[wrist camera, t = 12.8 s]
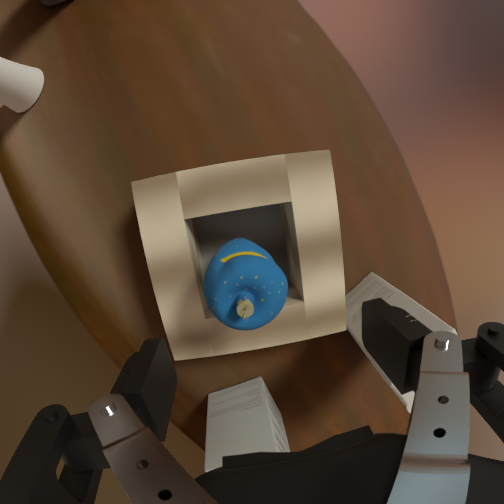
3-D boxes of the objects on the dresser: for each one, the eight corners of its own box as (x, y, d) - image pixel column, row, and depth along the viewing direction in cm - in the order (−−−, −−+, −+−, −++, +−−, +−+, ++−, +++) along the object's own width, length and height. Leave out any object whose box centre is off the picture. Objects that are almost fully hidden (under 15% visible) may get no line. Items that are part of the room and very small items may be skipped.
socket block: (151, 183, 28) (131, 182, 22) (309, 156, 28) (329, 149, 22) (183, 330, 31) (174, 360, 25) (326, 305, 32) (346, 330, 26)
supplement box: (230, 428, 35) (233, 501, 23) (207, 392, 33) (201, 471, 21) (282, 412, 35) (300, 486, 23) (263, 374, 33) (278, 452, 21)
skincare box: (400, 315, 33) (478, 380, 18) (361, 349, 34) (423, 431, 18) (369, 268, 31) (459, 325, 16) (326, 306, 32) (390, 390, 17)
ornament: (269, 228, 29) (309, 274, 15) (258, 277, 30) (284, 359, 16) (217, 217, 29) (206, 254, 14) (208, 267, 30) (191, 346, 15)
